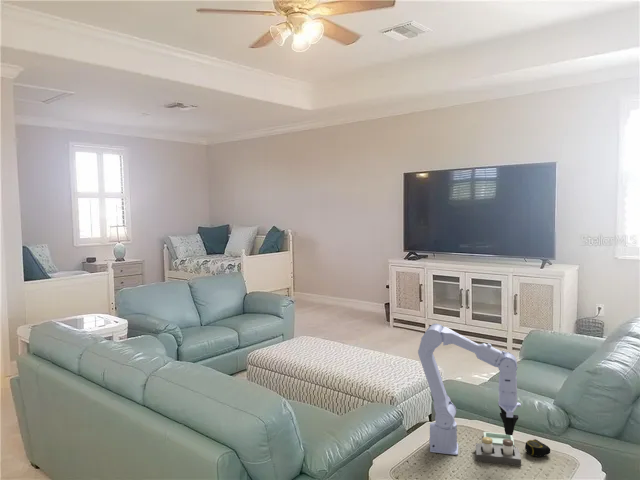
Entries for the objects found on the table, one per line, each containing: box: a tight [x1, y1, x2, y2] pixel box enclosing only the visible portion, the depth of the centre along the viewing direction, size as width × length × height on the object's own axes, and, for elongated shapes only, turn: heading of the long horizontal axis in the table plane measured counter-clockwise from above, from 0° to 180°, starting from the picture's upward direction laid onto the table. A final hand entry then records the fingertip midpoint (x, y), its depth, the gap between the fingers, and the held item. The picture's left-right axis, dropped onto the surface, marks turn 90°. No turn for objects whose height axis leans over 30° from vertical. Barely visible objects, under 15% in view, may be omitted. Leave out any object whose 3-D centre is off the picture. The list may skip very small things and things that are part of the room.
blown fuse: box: [503, 439, 513, 456], centre depth 163 cm, size 3×3×6 cm
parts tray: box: [483, 431, 515, 447], centre depth 174 cm, size 10×8×2 cm
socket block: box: [475, 443, 522, 467], centre depth 164 cm, size 14×8×2 cm, turn 73°
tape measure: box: [524, 439, 551, 458], centre depth 166 cm, size 7×7×4 cm
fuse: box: [481, 436, 492, 454], centre depth 165 cm, size 3×3×6 cm
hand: (507, 429), depth 163 cm, fingers open, 7 cm apart
